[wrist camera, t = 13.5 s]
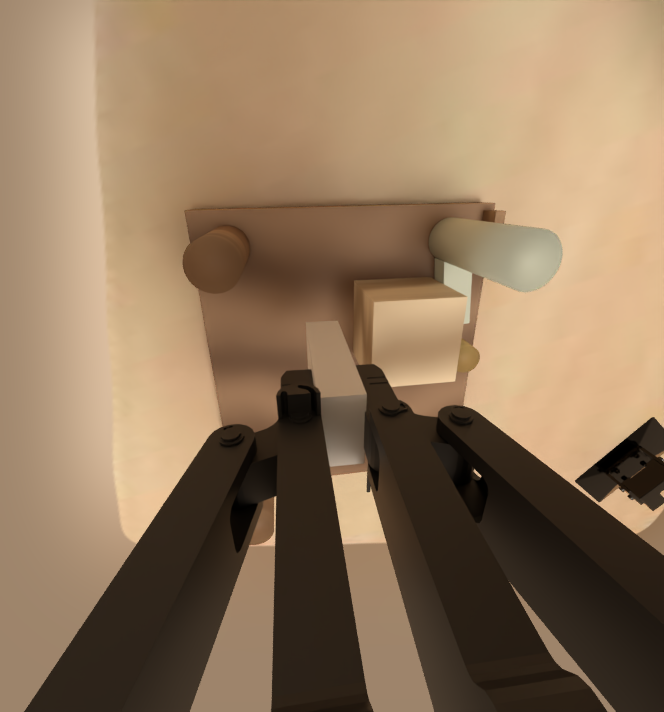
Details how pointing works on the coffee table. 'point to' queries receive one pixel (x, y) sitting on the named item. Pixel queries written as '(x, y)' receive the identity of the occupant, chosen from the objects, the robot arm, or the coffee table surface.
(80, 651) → the robot arm
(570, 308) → the coffee table surface
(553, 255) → the gate leg
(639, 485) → the black bracket plate
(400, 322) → the maple block
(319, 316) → the stool board
